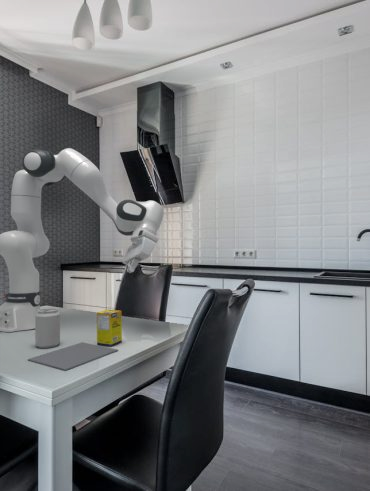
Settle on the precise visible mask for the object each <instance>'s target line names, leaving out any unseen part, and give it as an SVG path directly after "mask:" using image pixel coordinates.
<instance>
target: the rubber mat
mask: <svg viewBox="0 0 370 491" xmlns="http://www.w3.org/2000/svg"><path fill="white" fill-rule="evenodd" d="M118 351H119V349H117V348H112V347H109V346H103V345H97V344H93V343H87V342H84V341H82V342H79V343H76V344H72V345H69V346H66V347H63V348H60V349H59V348H58V349H56V350H53V351H50V352H46V353H43V354H40V355H36V356H34V357H30V358H28V359H27V361H29V362H31V363H35V364H39V365H42V366H47V367H49V368H53V369H57V370H60V371H65V372H67V371H70V370H72V369H75V368H77V367H79V366H82V365H86V364H87V363H91V362H93V361H95V360H97V359H101V358H103V357H106V356H109V355H111V354H114V353H117V352H118Z"/></svg>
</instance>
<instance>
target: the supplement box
mask: <svg viewBox="0 0 370 491" xmlns="http://www.w3.org/2000/svg"><path fill="white" fill-rule="evenodd" d="M122 313H123V312H122V310H117V309H104V310H99V311H97V312H96V345H98V346H103V347H109V348H112V347H114V346H117V345H119V344H121V343H122V341H123V340H122V339H123V338H122V336H123V334H122V331H123V330H122V329H123V328H122V327H123V326H122V325H123V324H122V323H123V322H122V319H123V318H122V317H123V316H122Z"/></svg>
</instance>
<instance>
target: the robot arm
mask: <svg viewBox="0 0 370 491" xmlns="http://www.w3.org/2000/svg"><path fill="white" fill-rule="evenodd" d="M53 153H54V152H52V151H47V150H44V149H30V150H28V151H26V152H25V153H24V154H23V156H22V160H21V164H22V168H23V169H21V170H18V171H16V172H15V174H14V177H13V179H12V180H13V181H12V185H11V192H10V193H11V197H10V198H11V199H10V216H11V218H12V219H13V221H15V222H14V223H15V224H16V227H17V230H9V231H5V232H2V233H0V255H1V257H2V258H3V259H4V262H5V264H6V267H7V270H8V272H7V273H8V279H9V280H8V283H9V284H8V285H9V286H8V287H9V288H8V289H9V290H8V291H9V292H8V293H7V294H2V295H3V297H2V298H3V299H4V298H5V300H4V302H3V303H2V304H1V305H0V332H4V333H5V332H6V333H14V332H18V331H27V330H35V315H36V314H37V313H38V310H40V309H41V305H40V304H41V291H40V272H39V270H38V269H37V268H36V267H35V263H34V260H33V258H39V257H41V256H43V255H45V254H46V253H47V252H48V251H49V250H50V246H51V244H50V243H51V242H50V240H49V238H48V237H47V235H46V234H45V230H44V227H43V223H42V215H41V214H42V213H41V212H42V211H41V210H42V208H41V207H42V188H43V186H44V185H45V186H46V187H49V186H52V185H55V184H60V183H63V182H64V181H65V180H66V179H67V178H68V180H69V181H70V182H72V183H73V184H74V185H75V186H76V187H78V188H79V190H80V191H82V192H83V193H84V194H85V195H87V196H88V198H90V199H91V200H92V201H93V202H94V203H95V204H96V205H97V206H98V207H99V208H100V209H101V210H102V212H104V213H105V214H106V215H107V216H108V217H109V218H110V219H111V220H112V222H113V223H114V226H115V228H116V230H117V232H118V233H120V234H121V235H122V236H126V237H127V236H130V242H132V243H131V245H130V246H129V247H128V248H127V250H126V252H125V254H124V257H123V259H122V264H124V265H126V266H127V270H126V272H127V273H129V274H131V273H133V272H135V270H136V268H137V266H138V265H139V263H140V262H142V261H144V260H146V259H149V257H150V256H151V255H152V253H153V251H154V248H155V246H156V244H157V243H158V241H159V236H157V235H158V234H157V233H158V230H159V229H160V228H161V224H162V222H163V218H164V208H163V206H162V205H161V204H160V203H159V202H157V201H155V200H147V201H137V200H133V199H125V200H121V201H120V202H119V203H117V202H116V200H115V199H114V198H113V197H112V196H111V195H110V194H109V192H108V190H107V188H106V184H105V180H104V177H103V174H102V172H101V171H100V170H99V168H98V167H97V166H96V165H95V164H94V163H93V162H92V161H91V160H90V159H89V158H87V157H86V156H84V155H83V154H82V153H81V152H79V151H77V150H76V149H73V148H71V147H70V148H69V147H67V148H64V149H62V150H61V151H59V153H57V154H53Z"/></svg>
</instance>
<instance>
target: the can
mask: <svg viewBox="0 0 370 491" xmlns="http://www.w3.org/2000/svg"><path fill="white" fill-rule="evenodd" d="M34 330H35V332H34V333H35V342H34V343H35V344H34V345H35V346H36V347H38V349H51V348H52V349H53V348H54V347H57V346H58V345H59V344H60V342H61V313H60V311H59V309H58V308H57V307H48V308H47V307H46V308H45V307H44V308H40V310H38V313H37V314H36V315H35V328H34Z"/></svg>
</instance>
